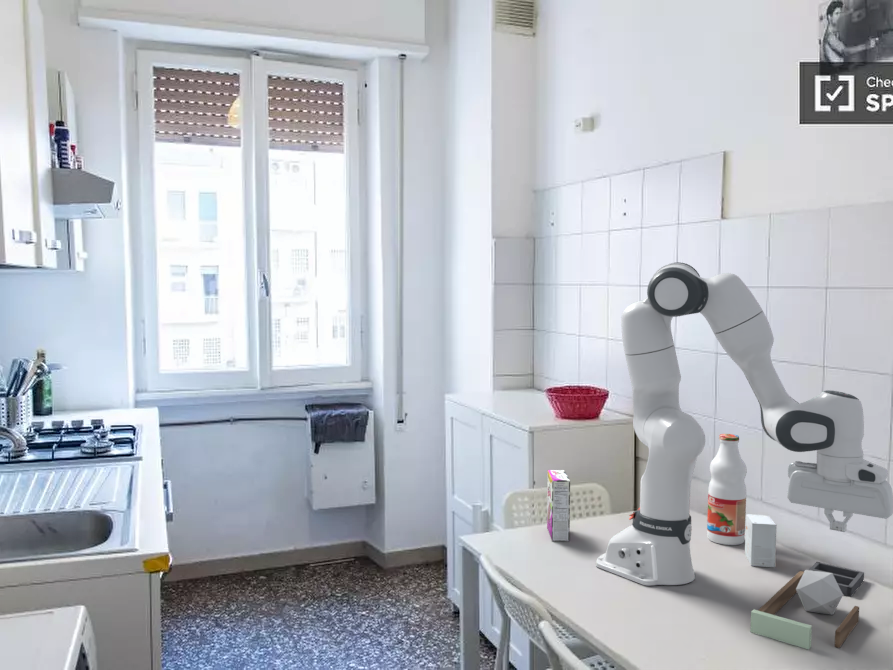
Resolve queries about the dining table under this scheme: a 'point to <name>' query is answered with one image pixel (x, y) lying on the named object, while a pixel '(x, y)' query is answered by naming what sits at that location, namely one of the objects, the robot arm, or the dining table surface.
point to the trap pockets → (842, 577)
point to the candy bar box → (558, 505)
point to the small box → (760, 540)
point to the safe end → (781, 629)
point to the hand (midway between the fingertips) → (838, 530)
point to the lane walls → (790, 590)
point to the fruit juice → (727, 494)
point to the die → (819, 592)
